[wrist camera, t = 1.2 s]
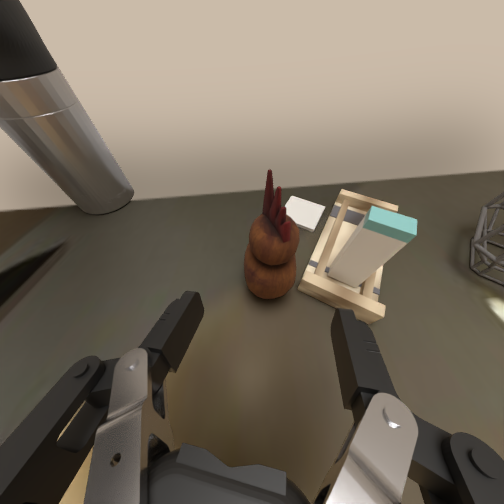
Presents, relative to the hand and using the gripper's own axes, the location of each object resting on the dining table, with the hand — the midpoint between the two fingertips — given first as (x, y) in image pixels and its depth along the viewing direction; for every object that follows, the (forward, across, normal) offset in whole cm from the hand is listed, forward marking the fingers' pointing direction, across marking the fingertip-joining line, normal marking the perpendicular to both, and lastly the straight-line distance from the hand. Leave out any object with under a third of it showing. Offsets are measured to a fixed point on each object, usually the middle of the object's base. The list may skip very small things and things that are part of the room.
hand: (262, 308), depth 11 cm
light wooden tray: (+18, -10, +7) cm, 22 cm away
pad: (+25, -3, +4) cm, 25 cm away
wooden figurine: (+11, +1, +8) cm, 14 cm away
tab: (+13, -9, +7) cm, 17 cm away
